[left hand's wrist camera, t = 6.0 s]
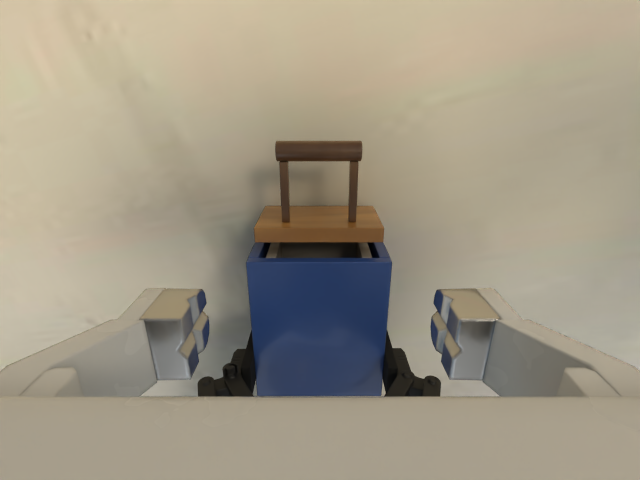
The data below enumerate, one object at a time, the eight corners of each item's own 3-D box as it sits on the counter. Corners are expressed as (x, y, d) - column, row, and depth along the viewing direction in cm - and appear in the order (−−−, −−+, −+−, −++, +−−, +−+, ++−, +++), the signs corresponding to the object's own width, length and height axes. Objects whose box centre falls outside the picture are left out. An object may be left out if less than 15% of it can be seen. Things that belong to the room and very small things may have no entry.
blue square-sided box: (261, 227, 34) (245, 262, 27) (376, 227, 34) (392, 262, 26) (269, 340, 39) (257, 396, 31) (369, 340, 38) (381, 396, 31)
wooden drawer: (260, 135, 30) (247, 143, 24) (377, 135, 30) (390, 143, 24) (271, 318, 36) (263, 357, 31) (366, 318, 36) (375, 357, 31)
